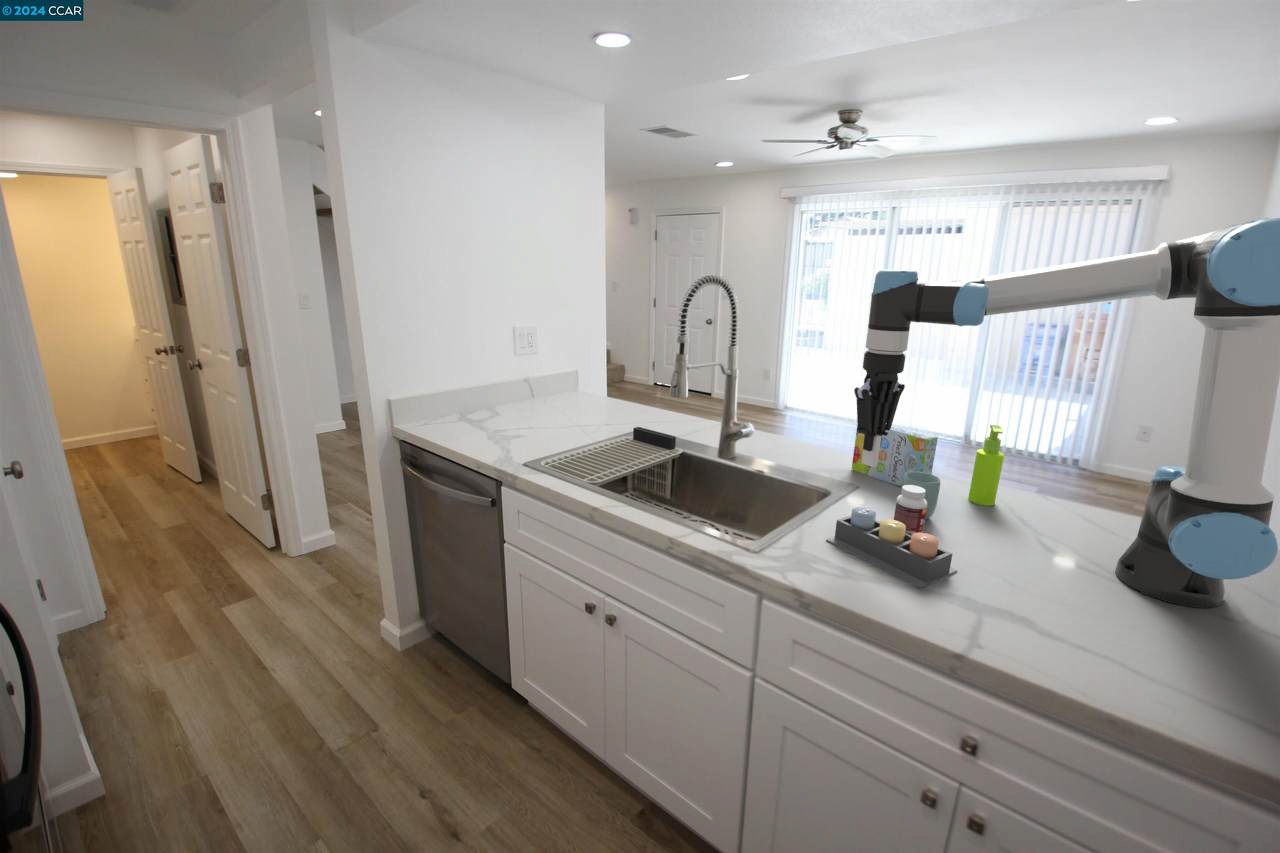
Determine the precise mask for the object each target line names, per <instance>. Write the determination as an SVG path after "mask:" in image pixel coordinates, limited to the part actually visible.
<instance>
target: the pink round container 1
mask: <svg viewBox="0 0 1280 853" xmlns="http://www.w3.org/2000/svg"><path fill="white" fill-rule="evenodd" d="M939 542H940V540H939V539H938V538H937V536H935V535H932V534H929V533H926V532H925V533H924V532H923V533H914V534H912V535H911V542H910V548H909V552H912V553H914V554H916V555H918V556H920V557H922V558H925V559H927V560H930V559H932V558H935V557H936V556H937V550H938V547H939V544H940V543H939Z"/></svg>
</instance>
